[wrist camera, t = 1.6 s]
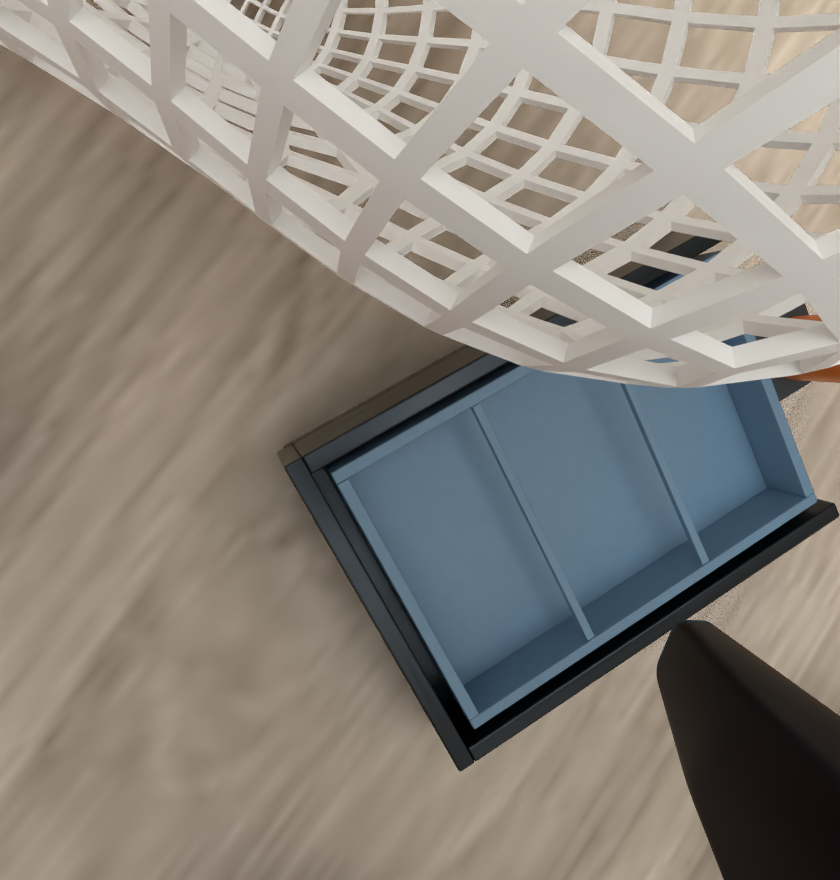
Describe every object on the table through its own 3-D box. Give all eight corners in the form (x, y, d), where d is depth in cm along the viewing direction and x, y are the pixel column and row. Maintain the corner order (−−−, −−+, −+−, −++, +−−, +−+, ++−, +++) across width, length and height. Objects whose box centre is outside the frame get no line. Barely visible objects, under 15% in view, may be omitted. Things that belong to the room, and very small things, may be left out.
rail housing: (430, 720, 27) (460, 773, 24) (275, 450, 24) (283, 467, 21) (777, 493, 30) (846, 512, 27) (672, 229, 27) (736, 213, 24)
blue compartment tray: (451, 695, 26) (730, 1119, 12) (319, 460, 24) (467, 632, 10) (838, 443, 30) (1429, 535, 15) (755, 214, 27) (1360, 64, 13)
